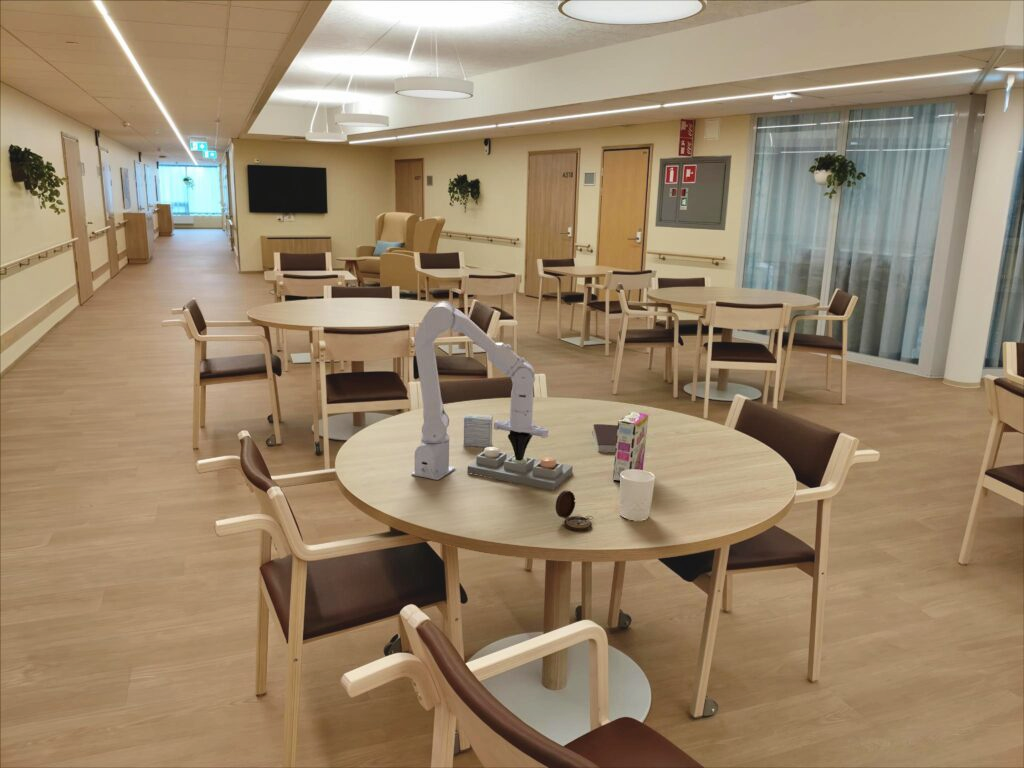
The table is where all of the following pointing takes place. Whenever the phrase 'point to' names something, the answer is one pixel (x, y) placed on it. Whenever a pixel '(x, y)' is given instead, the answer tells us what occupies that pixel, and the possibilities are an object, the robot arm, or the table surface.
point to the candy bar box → (630, 443)
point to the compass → (566, 508)
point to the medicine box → (478, 430)
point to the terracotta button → (548, 463)
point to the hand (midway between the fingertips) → (519, 459)
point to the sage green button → (520, 461)
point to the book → (605, 437)
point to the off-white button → (491, 452)
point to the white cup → (636, 493)
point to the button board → (520, 471)
